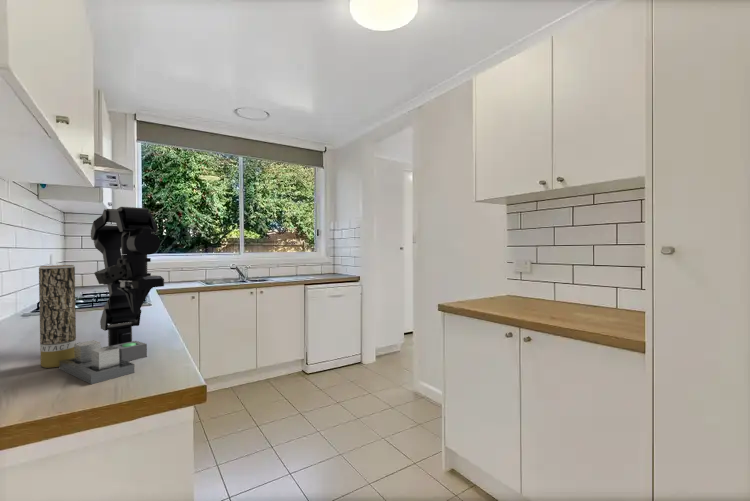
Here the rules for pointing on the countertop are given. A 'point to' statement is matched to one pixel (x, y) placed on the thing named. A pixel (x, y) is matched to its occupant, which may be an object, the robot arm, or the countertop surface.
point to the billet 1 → (84, 351)
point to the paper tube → (57, 314)
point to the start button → (128, 344)
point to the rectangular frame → (90, 376)
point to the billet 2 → (105, 358)
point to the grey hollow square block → (132, 351)
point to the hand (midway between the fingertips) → (135, 313)
